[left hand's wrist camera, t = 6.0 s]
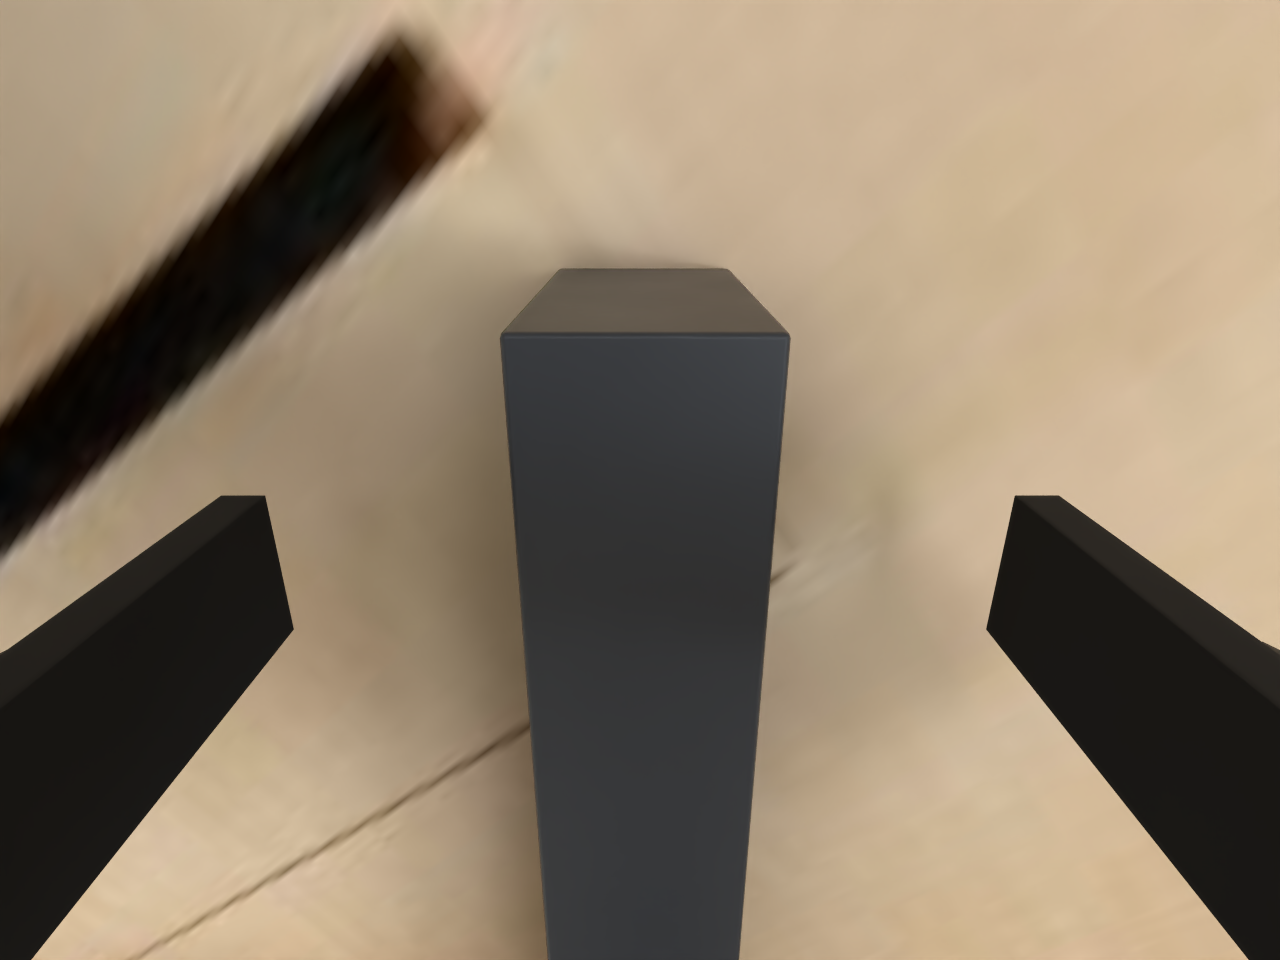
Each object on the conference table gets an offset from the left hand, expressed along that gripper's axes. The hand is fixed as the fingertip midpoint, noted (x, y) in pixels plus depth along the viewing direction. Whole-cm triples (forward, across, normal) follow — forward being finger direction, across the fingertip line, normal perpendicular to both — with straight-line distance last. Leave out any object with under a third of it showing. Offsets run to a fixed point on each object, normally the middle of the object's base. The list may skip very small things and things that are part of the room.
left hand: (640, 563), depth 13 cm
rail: (+6, 0, -12) cm, 13 cm away
